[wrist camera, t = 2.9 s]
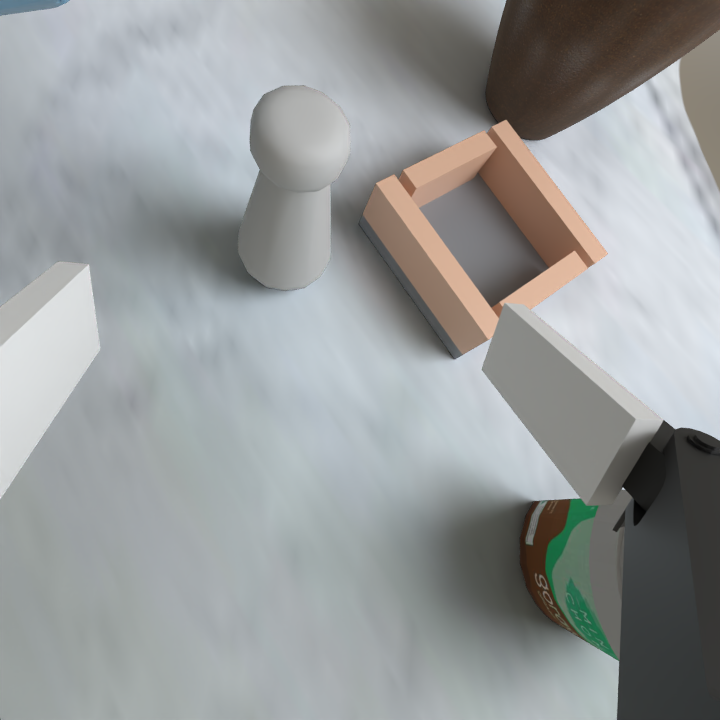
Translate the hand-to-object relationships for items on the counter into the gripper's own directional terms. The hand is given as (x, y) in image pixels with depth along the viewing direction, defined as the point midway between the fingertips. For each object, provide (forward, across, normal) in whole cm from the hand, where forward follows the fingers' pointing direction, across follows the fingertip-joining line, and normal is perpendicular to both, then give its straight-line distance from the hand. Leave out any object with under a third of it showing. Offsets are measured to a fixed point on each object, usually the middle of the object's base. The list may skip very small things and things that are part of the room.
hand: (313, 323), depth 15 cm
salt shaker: (+17, 0, -4) cm, 17 cm away
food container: (+2, +18, -19) cm, 26 cm away
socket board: (+18, +13, -2) cm, 23 cm away
